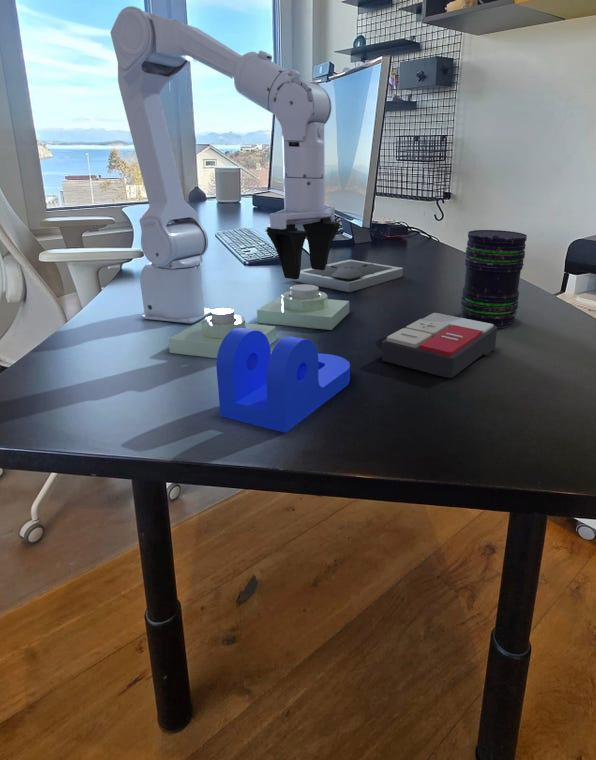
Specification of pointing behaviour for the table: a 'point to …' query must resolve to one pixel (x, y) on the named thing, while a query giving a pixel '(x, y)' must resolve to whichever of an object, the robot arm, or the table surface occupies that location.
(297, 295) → the full button
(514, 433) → the table surface
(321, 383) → the bracket
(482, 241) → the storage jar
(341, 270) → the picture frame
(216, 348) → the pale green button base
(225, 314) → the half button
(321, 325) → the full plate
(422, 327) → the calculator
